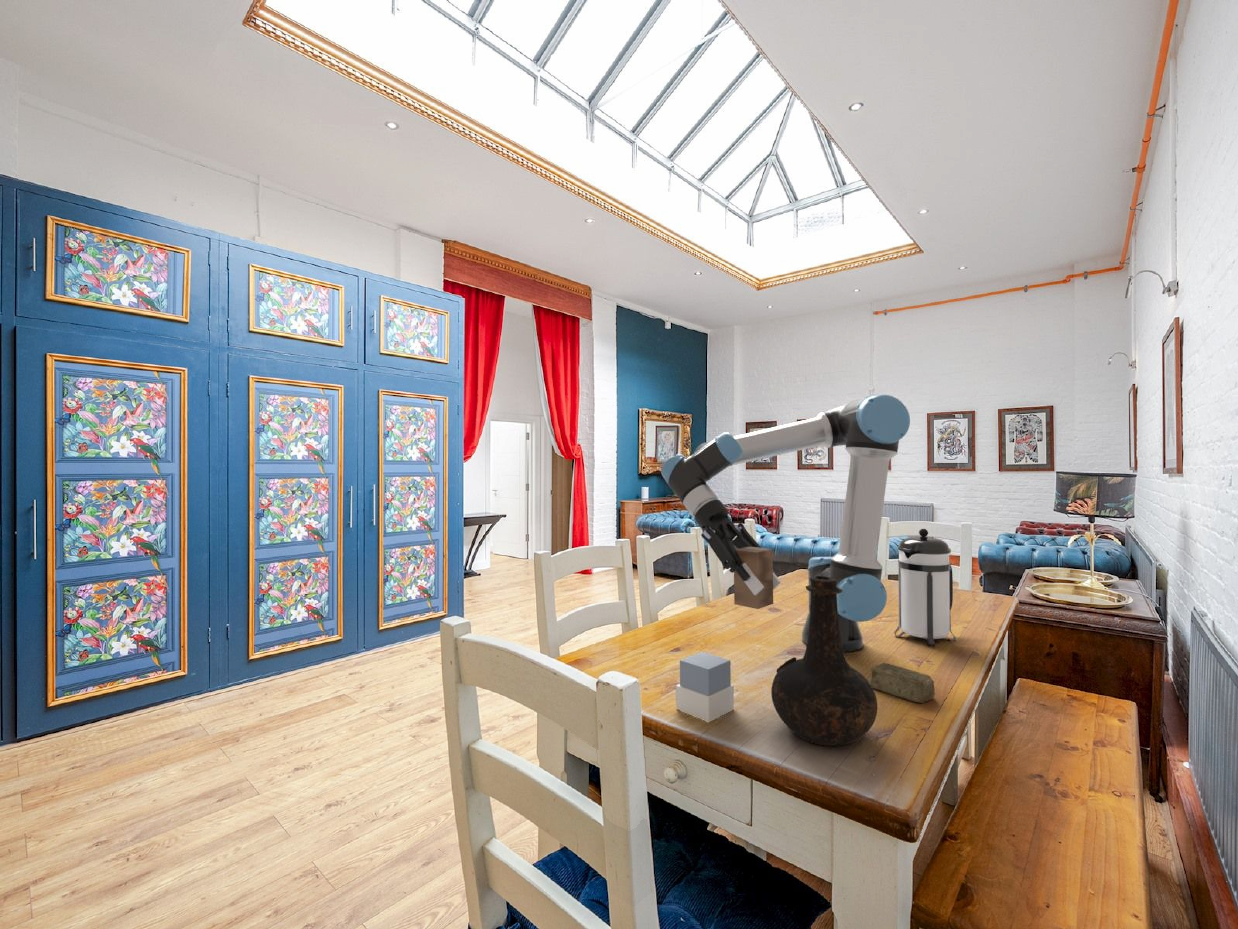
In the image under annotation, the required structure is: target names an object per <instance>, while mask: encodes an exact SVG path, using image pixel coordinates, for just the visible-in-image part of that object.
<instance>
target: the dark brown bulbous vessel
mask: <svg viewBox="0 0 1238 929" xmlns="http://www.w3.org/2000/svg"><path fill="white" fill-rule="evenodd" d="M810 581H811V585H809V584H808V585H806V586H805V590H807V591H808V592H809V591H810V592H811V605H810V621H809V633H808V641H807V644H806V647H805V650H804V651H805V652H804V655H803V657H802V658H799V659H798V658H797V657H794V656H793V657H791V658H790V659H788V660H786V661H784V663H782V664H781V665H780V666H779V667H778V668H776V674H775V676H774V678H773V680H772V684H771V701H772V704H773V708H774V709H775V711H776V713H777V715H778V716H779V718H780V719H781V721H782V722H783V723H784V725H785V726H786V727H787V728H788V729H789V730H790V731H791V732H792V733H794V734H795V736H797V737H799V738H800V739H802V740H805V741H806V742H808V743H811V744H815V745H819V746H820V745H821V746H826V747H827V746H828V747H837V746H845V745H847V744H848V745H849V744H851V743H855V742H856V741H858V740H859V739H861V738H862V737H864V736H865V735H866V734H867V733H868V732H869V731H870V729H871V728H872V727H873V725H874V723H875V721H876V719H877V714H878V699H877V695H876V692H875V690H874V687H872V686H871V684H870V682H869V680H868V679H867V678H866V677H865V676H864V675H863V674H862V673H861V672H860V671H858V670H857V669H855V667H853V666H851V665H849V663H848V661H847V659H846V656H845V652H843V648H842V642H841V636H840V629H839V620H838V608H837V594H839V593H841V592H842V589H840V588H837V587H836V584H837V580H835V579H833V578H830V577H825V576H814V577H811V578H810Z"/></svg>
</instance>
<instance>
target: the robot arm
mask: <svg viewBox="0 0 1238 929" xmlns="http://www.w3.org/2000/svg"><path fill="white" fill-rule="evenodd" d="M910 417H911V416H910V413H909V410H908V408H907V406H905V404H904V403H903V402H902V401H901V400H900V399H899V398H896V397H894V396H893V395H889V394H872V395H869V396H866V397H864V398H861V399H856V400H853V401H850V402H847V403H846V404H843V405H841V406H837V407H835V408H832V409H830V410H827V411H822V412H819V413H818V414H817V415H816V417H813V418H808V419H805V420H800V421H796V422H791V423H787V424H783V425H777V426H773V427H770V428H768V427H767V428H764V429H761V430H755V431H752V432H747V433H743V434H738V435H734V436H733V434H731V433H730V432H728V431H724V432H722V433H721V434H720V435H717V436H715V437H714V438H713V439H712V440H711V441H706V442H702V443H700V444H699V445H698V446H697V447H696V448H695V451H694V452H693V454H691V455H690V456H688V457H687V456H685V455H684V454H682V453H676V454H675V455H671V456H670V457H669V458H667V459H666V460H665V461H664V462H663V464H662V465H661V468H660V473H661V476H662V477H663V479H664V481H665V483H667V485H668V487H669V488H670V490H672V491H673V492H672V493H674V495H675V496H676V497H677V498H678V499H679V501H680V502H681V503H682V505H683V506H684V507H685V509H686V510H687V511H688V513H689V514H690V515H691V517H692V518H693V519H694V521H695V522H696V524H697V525H698V526H699V528H700V529H701V530H703V532H702V533H701V535H700V536H701V537H702V539H704V541H705V542H707V544H708V545H709V546H710V549H711V550H712V551H713V553H714V554H715V556H716V557H717V559H718V560H719V561H720V562H721V564H722V565H723V567H724V569H726V570H728V571H729V572H730V573H733V574H734V571H736V572H737V573H738V575H739V576H740V577H741V579H742V580H743V581H744V582H745V583H746V585H747V586H748V587H749V589H750V590H751V591H752V593H753V594H754V595H757V594H758V593H759V592H760V591H761V590H762V589H763V588H764V586H763V585H762V584H761V582H760V581H759V580H758V578H757V577H756V576H755V575H754V573H753V572H752V571H751V569H750V568H749V567H748V566H747V564H746V563H743V564H742V562H741V560H740V558H739V556H738V554H737V552H736V551H735V549H739V548H744V547H758V548H762V546H760V544H759V543H758V542H757V541H756V540H755V538H754V537H753V536H752V535H751V534H750V533H749V532H748V531H747V529H746V527H745V525H744V524H743V523H742V522H739V523H738V524H735V523H734V522H733V521H732V520H730V519H729V517H728V515H729V510H728V509H727V507H726V506H725V505H724V503H722V501H721V500H720V499H719V497H718V496H717V495H716V493H715V492H714V491H713V490H712V489H711V487H710V486H709V484H708V483H707V482H708V481H710V480H711V479H712V478H714V477H715V476H717V475H718V474H720V473H721V472H723V471H724V470H726V469H727V468H729V467H732V466H735V465H739V464H740V465H741V464H744V463H749V462H753V461H754V462H755V461H758V460H763V459H767V458H773V457H777V456H781V455H785V454H790V453H793V452H797V451H802V450H803V451H804V450H808V449H812V448H817V447H821V446H823V447H825V448H827V449H829V448H832V447H839V446H840V447H841V446H845V450H846V451H847V452H848V454H849V455H850V463H849V470H848V477H847V485H846V492H845V493H846V494H845V499H844V507H843V514H842V515H843V516H842V524H841V531H840V539H839V546H838V547H839V548H838V552H837V553H836V554H834V555H833V556H813V557H810V559H809V560H808V567H807V572H808V573H807V574H808V585H811V581H810V578H811V577H814V576H825V577H830V578H833V579H835V580H837V584H836V587H837V588H840V589H842V592H841V593H839V594H837V608H838V620H839V629H840V636H841V642H842V648H843V652H844V653H845V652H853V651H859V650H860V649H863V646H864V644H863V643H864V642H863V640H864V639H863V635H862V632H861V629H860V627H859V623H861V622H862V623H863V622H868V621H871V620H874V619H876V617H877V616H879V615H880V614H882V612H883V611H884V609H885V608H886V605H887V600H888V593H887V589H886V587H885V586H884V583H883V582H882V581H881V580H882V573H883V566H882V565H881V563H880V562H879V561H878V559H877V558H878V549H879V541H880V534H881V526H882V519H883V510H884V504H885V496H886V488H887V487H886V486H887V480H888V470H889V464H890V460H891V459H893V458H894V457H895V456H896V455H898V450H899V443H900V440H901V439H903V438H904V437H905V435H906V434H907V433H908V431H909V428H910V425H911V424H910V423H911V418H910ZM741 564H742V565H741ZM780 584H782V581H781V579H779V577H778V576H777V575H776V573H775V572H774V571H773V591H774V590H775V589H777V587H778V586H779V585H780ZM810 605H811V592H810V591H808V613H807V616H806V618H805V619H806V620H805V622H804V625H803V628H802V633H801V635H802V636H801V637H802V638H801V639H802V642H803V643H804V644H805V645H807V641H808V633H809V621H810Z"/></svg>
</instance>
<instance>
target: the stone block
mask: <svg viewBox="0 0 1238 929" xmlns="http://www.w3.org/2000/svg"><path fill="white" fill-rule="evenodd" d="M869 683H870V684H871V686H872V688H873V689H875V690H878V691H881V692H883V693H884V694H885V693H886V694H889V695H892V696H895V697H898V698H901V699H904V700H907V701H910V702H913V703H914V702H915V703H917V704H918V703H919V704H921V703H925V702H929V701H932V699H933V698H934V697H935V683H934V680H933V679H932V677H931V676H930V675H928V674H926V673H921V672H919V671H915V670H912V669H910V668H909V669H908V668H904V667H902V666H897V665H894V664H890V663H885V662H883V663H880V664H877V665H875V666H872V667H871V674H870V682H869Z"/></svg>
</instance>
